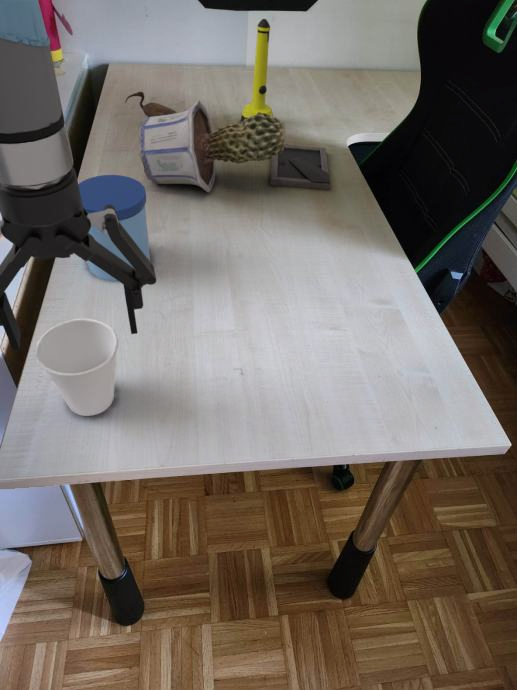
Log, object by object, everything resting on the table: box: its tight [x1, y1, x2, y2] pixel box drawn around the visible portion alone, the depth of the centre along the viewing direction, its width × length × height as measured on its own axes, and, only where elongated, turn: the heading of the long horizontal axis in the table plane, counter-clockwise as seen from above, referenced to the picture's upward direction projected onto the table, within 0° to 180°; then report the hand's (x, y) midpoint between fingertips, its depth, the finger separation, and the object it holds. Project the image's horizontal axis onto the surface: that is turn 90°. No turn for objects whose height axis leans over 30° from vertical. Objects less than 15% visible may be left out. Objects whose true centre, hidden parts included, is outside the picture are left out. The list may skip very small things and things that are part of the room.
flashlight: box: [240, 18, 274, 122], centre depth 130 cm, size 25×9×9 cm
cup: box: [34, 317, 119, 417], centre depth 68 cm, size 10×10×11 cm
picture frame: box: [270, 144, 331, 191], centre depth 123 cm, size 13×2×18 cm
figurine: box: [125, 91, 178, 118], centre depth 131 cm, size 14×4×9 cm, turn 95°
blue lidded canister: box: [78, 174, 151, 282], centre depth 89 cm, size 12×12×14 cm
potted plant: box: [138, 100, 286, 193], centre depth 109 cm, size 18×18×30 cm
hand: (76, 333), depth 63 cm, fingers open, 13 cm apart
